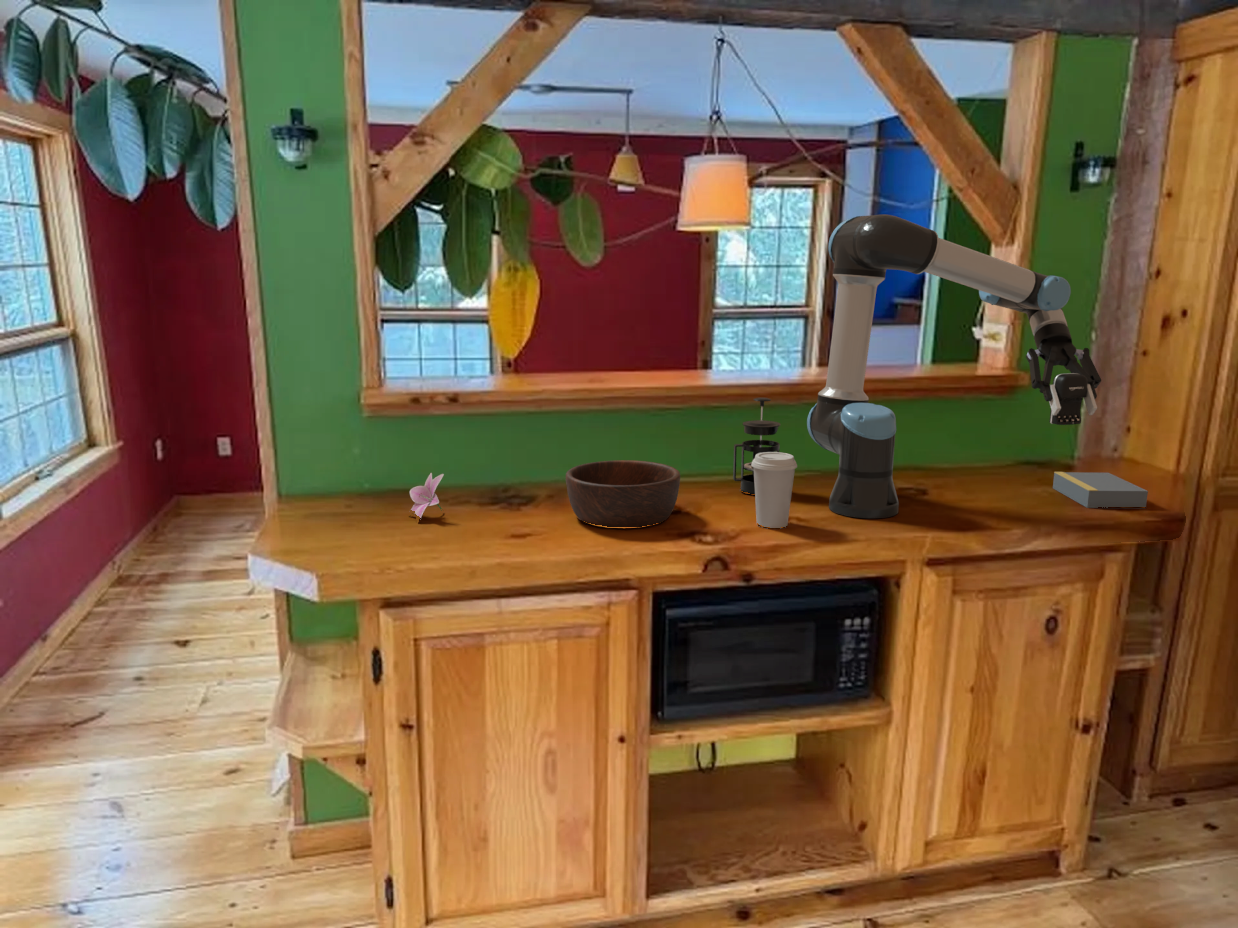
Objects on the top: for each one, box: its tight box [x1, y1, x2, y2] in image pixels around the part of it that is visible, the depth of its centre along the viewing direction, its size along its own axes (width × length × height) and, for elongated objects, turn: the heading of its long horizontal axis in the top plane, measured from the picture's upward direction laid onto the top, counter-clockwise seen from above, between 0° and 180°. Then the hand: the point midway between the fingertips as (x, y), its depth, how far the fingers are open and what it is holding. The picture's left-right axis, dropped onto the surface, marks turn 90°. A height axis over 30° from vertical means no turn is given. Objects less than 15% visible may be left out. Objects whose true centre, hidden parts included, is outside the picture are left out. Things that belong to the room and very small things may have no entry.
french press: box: [732, 397, 781, 494], centre depth 216 cm, size 12×9×23 cm
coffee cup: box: [751, 451, 798, 529], centre depth 189 cm, size 10×10×15 cm
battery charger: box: [1049, 372, 1088, 426], centre depth 201 cm, size 7×4×11 cm, turn 101°
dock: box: [1052, 471, 1149, 509], centre depth 211 cm, size 13×18×4 cm
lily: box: [409, 472, 445, 519], centre depth 197 cm, size 12×12×10 cm
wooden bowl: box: [565, 459, 681, 527], centre depth 196 cm, size 25×25×10 cm
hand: (1075, 411), depth 198 cm, fingers closed on battery charger, 7 cm apart
